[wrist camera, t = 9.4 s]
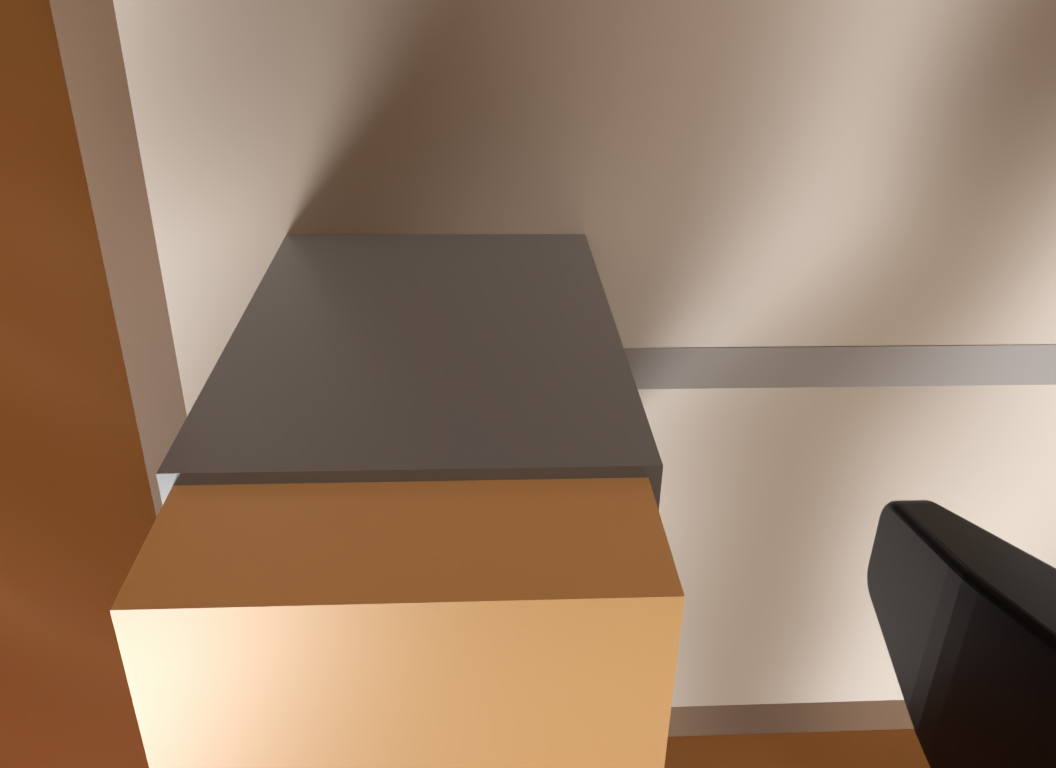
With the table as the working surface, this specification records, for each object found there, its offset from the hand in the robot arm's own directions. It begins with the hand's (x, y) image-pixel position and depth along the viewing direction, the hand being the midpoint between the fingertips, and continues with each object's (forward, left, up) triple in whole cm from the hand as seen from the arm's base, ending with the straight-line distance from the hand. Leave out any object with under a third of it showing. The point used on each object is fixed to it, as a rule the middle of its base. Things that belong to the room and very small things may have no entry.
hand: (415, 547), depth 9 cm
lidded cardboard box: (0, 0, -4) cm, 4 cm away
